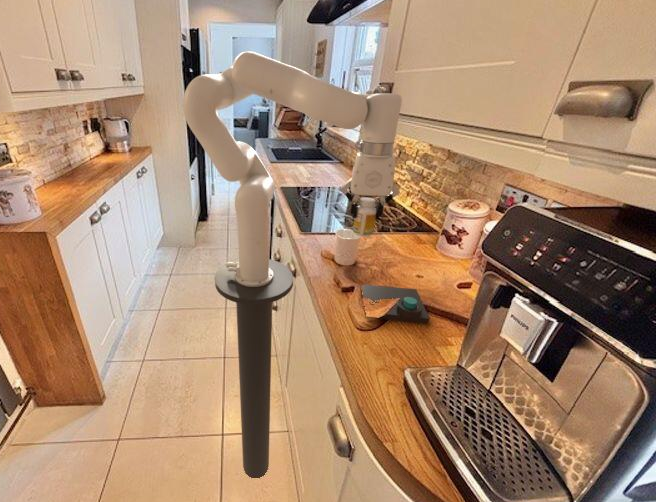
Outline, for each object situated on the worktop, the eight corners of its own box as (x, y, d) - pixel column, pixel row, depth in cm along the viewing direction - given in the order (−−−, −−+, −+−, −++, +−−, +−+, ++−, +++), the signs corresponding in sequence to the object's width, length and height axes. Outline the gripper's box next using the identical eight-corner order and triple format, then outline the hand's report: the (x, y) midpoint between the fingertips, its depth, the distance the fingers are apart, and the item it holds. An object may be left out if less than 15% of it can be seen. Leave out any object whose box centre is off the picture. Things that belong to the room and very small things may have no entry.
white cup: (347, 253, 114) (351, 227, 109) (361, 264, 107) (366, 236, 103) (328, 257, 111) (331, 231, 107) (341, 268, 105) (345, 240, 100)
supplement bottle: (373, 231, 92) (379, 198, 88) (371, 238, 88) (377, 204, 83) (354, 227, 94) (359, 195, 90) (350, 234, 90) (355, 201, 85)
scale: (365, 318, 83) (367, 307, 81) (360, 289, 94) (362, 279, 93) (428, 325, 80) (432, 314, 79) (414, 294, 92) (417, 283, 90)
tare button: (404, 309, 81) (405, 303, 80) (401, 301, 84) (403, 296, 83) (417, 310, 81) (418, 304, 80) (414, 303, 83) (415, 297, 82)
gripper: (342, 150, 78) (333, 220, 87) (417, 152, 76) (401, 224, 84) (339, 145, 85) (332, 210, 93) (409, 147, 82) (394, 214, 91)
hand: (365, 216), depth 89 cm, fingers closed on supplement bottle, 5 cm apart
